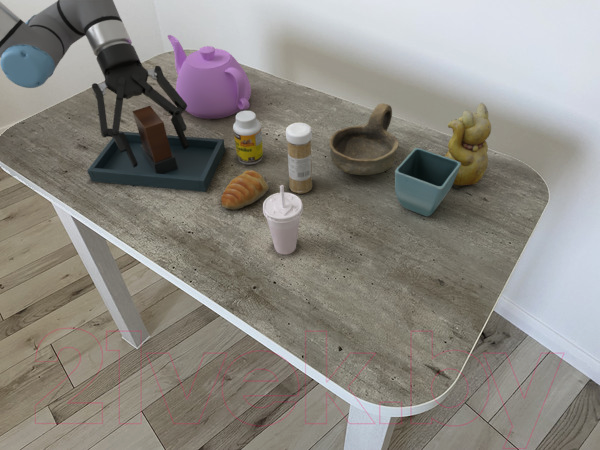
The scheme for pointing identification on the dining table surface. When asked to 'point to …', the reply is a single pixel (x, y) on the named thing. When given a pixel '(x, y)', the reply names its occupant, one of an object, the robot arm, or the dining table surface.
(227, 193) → the pastry
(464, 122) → the decorative figurine
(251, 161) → the supplement bottle
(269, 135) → the dining table surface
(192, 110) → the teapot
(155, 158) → the eraser
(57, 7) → the robot arm
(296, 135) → the spice jar
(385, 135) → the bowl
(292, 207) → the smoothie
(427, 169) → the flower pot
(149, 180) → the tray
